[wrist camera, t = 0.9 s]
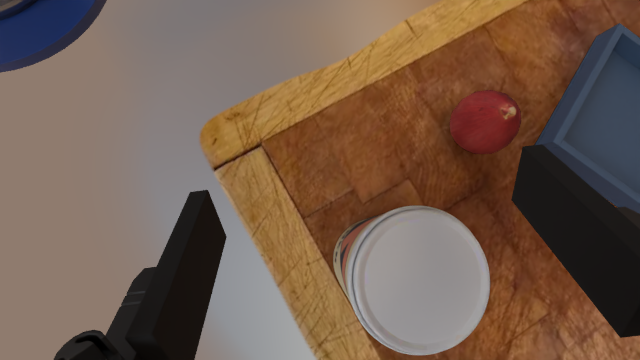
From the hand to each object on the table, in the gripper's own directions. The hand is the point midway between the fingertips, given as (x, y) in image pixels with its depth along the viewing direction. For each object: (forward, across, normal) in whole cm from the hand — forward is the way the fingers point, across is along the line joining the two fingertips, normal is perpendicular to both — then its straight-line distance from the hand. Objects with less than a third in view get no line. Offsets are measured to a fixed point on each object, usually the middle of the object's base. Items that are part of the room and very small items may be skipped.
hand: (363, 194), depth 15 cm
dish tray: (+22, +31, -13) cm, 40 cm away
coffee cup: (+11, +1, -17) cm, 20 cm away
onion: (+20, +12, -9) cm, 26 cm away
